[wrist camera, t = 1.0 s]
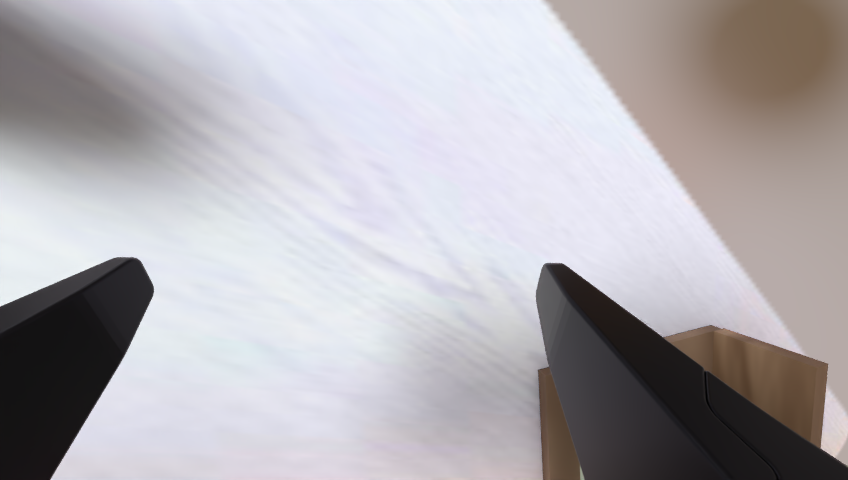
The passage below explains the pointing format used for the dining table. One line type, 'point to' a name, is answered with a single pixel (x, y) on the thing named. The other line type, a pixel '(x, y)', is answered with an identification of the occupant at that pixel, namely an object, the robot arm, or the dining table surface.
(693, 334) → the brown box
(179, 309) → the dining table surface
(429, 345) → the dining table surface
